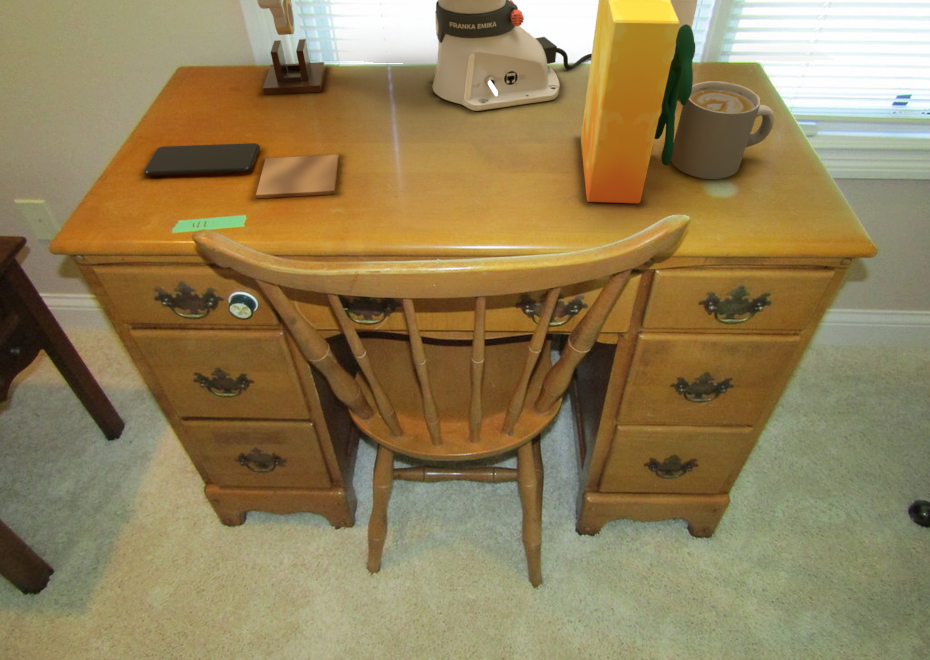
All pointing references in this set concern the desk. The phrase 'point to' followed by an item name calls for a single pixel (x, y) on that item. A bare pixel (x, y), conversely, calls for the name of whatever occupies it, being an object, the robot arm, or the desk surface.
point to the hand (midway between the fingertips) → (284, 18)
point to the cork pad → (298, 176)
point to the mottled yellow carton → (632, 94)
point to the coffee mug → (718, 129)
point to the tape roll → (290, 19)
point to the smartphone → (202, 159)
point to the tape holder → (293, 72)
